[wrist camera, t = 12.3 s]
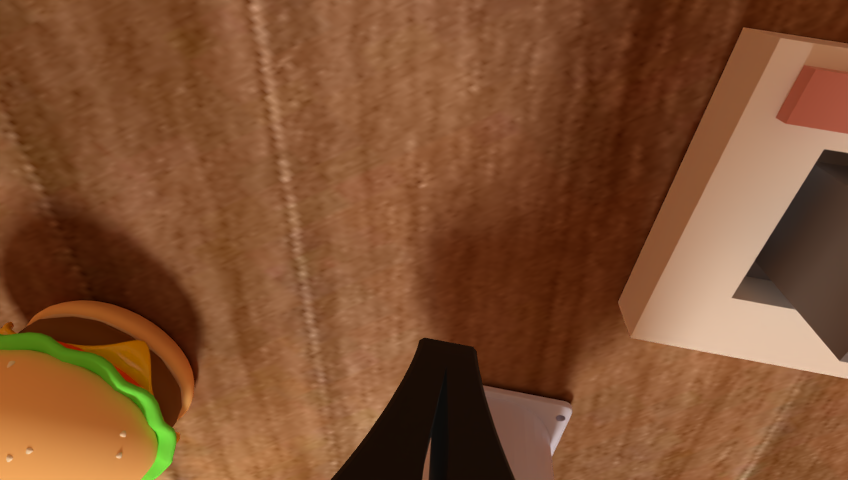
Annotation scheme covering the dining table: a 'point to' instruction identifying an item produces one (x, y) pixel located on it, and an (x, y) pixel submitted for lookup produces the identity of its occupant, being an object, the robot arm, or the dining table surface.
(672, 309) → the socket
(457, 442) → the robot arm
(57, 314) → the hamburger
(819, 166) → the plug
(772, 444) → the dining table surface
